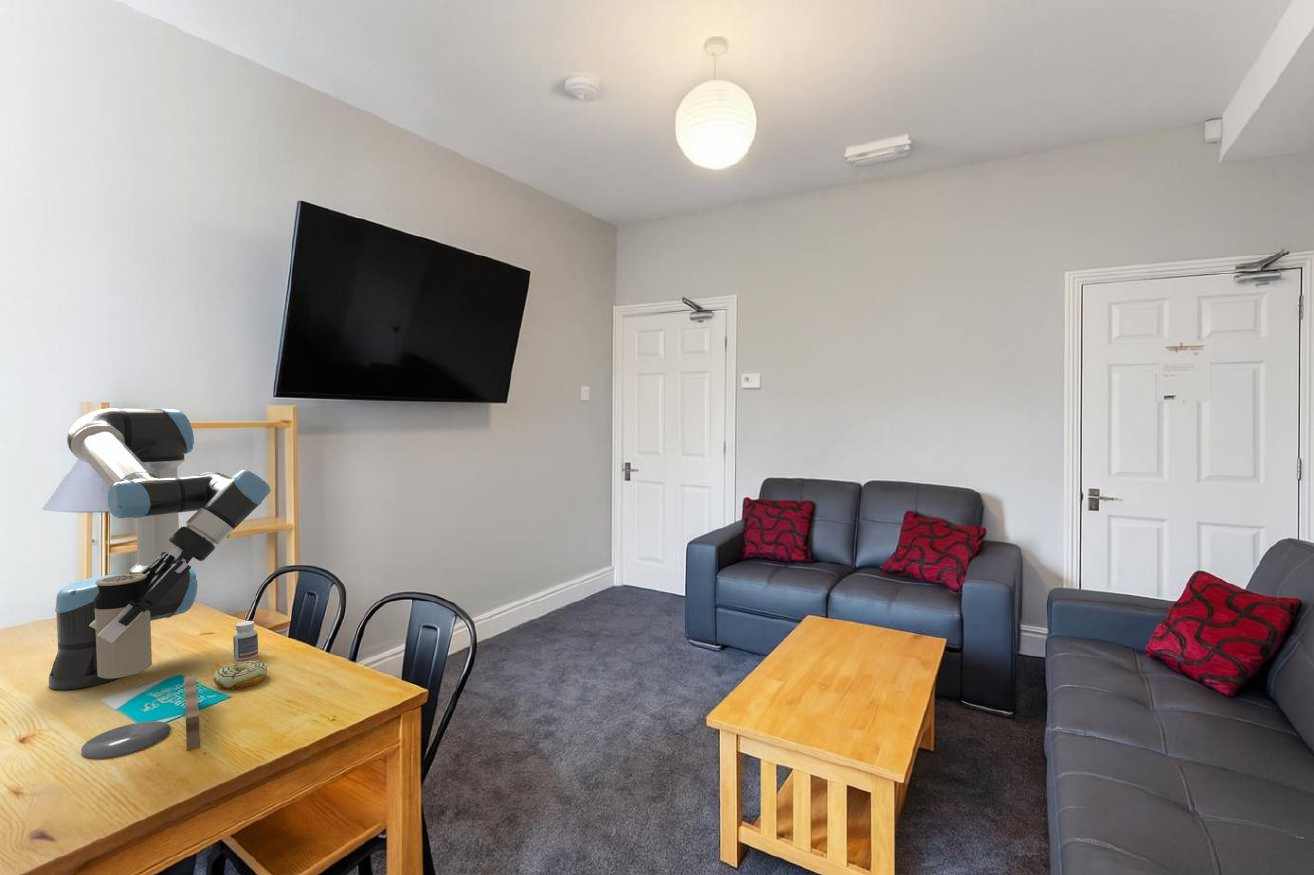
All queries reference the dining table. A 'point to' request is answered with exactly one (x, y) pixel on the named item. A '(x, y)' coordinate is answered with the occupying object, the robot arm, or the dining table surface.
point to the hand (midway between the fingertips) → (100, 634)
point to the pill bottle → (245, 641)
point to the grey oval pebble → (125, 739)
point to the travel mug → (135, 641)
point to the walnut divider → (191, 713)
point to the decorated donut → (240, 675)
